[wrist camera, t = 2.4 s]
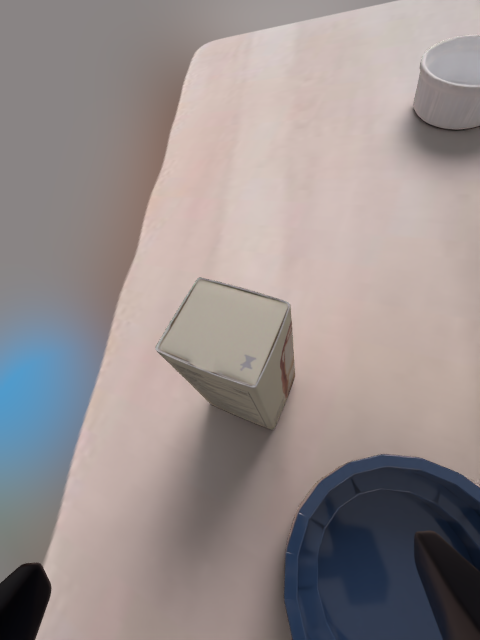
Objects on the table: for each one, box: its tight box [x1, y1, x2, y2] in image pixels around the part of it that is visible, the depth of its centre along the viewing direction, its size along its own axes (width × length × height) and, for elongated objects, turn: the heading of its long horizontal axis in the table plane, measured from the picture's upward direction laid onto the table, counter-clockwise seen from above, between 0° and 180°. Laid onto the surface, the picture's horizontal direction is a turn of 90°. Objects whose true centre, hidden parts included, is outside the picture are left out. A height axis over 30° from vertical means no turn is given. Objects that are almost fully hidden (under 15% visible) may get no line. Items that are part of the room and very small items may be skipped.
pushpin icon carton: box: [156, 277, 295, 430], centre depth 19 cm, size 5×4×10 cm
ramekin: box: [414, 35, 480, 129], centre depth 31 cm, size 9×9×4 cm
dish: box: [284, 454, 480, 640], centre depth 16 cm, size 11×11×4 cm
